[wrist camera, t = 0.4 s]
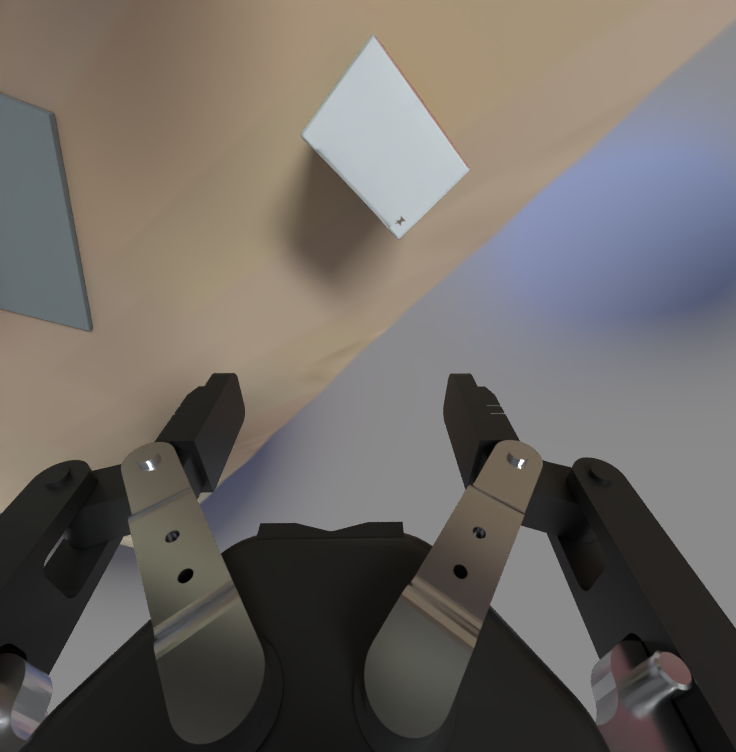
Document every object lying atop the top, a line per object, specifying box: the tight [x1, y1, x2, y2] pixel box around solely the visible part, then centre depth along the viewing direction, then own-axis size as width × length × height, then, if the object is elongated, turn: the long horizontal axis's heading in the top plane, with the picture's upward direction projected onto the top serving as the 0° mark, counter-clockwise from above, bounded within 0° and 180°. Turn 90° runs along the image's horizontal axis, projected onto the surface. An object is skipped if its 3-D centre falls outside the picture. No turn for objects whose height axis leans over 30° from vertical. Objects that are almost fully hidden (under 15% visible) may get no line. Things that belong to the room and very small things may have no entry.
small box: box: [301, 34, 470, 239], centre depth 22 cm, size 8×6×10 cm
